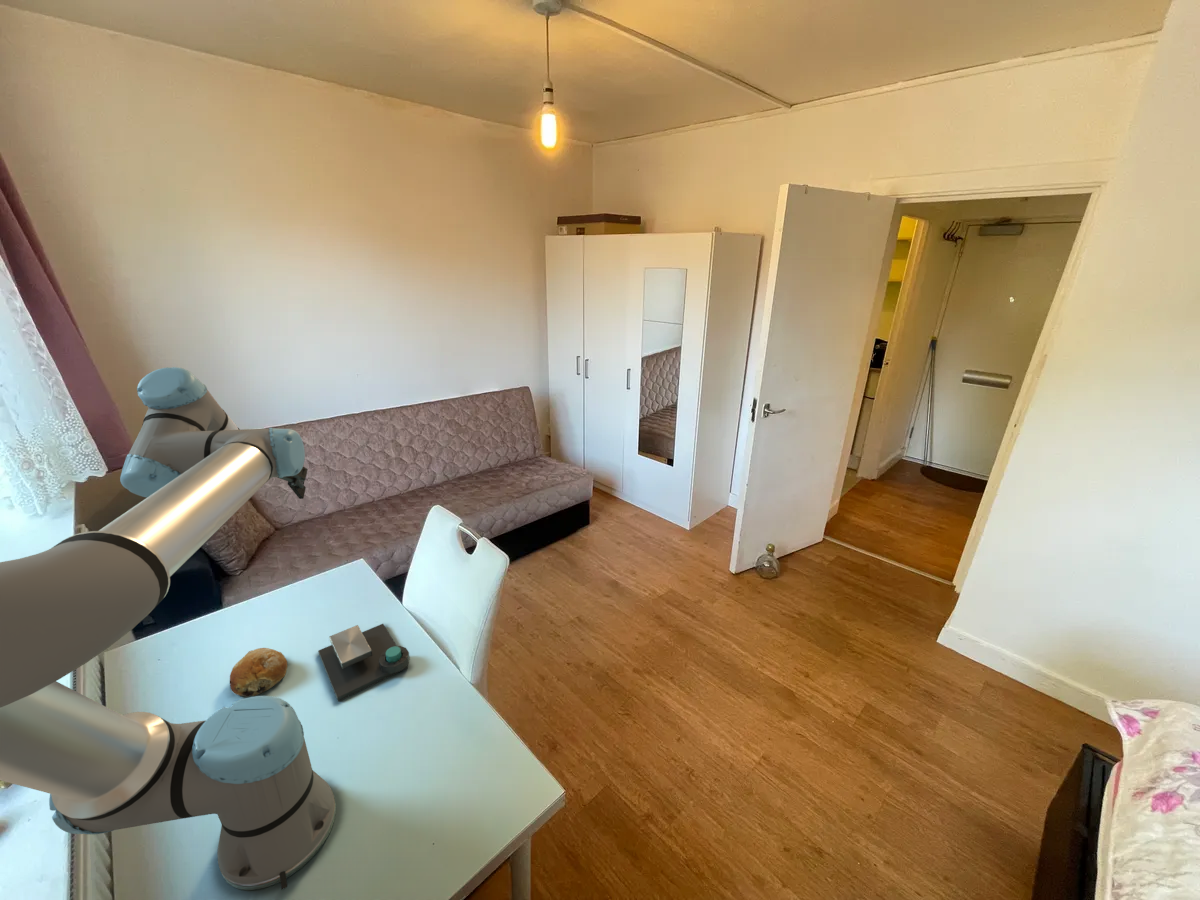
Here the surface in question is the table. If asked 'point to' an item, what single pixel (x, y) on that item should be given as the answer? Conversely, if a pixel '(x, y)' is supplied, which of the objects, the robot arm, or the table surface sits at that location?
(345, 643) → the silver metal plate
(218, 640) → the table surface
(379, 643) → the scale
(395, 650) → the tare button
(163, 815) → the robot arm
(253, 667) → the bread roll
